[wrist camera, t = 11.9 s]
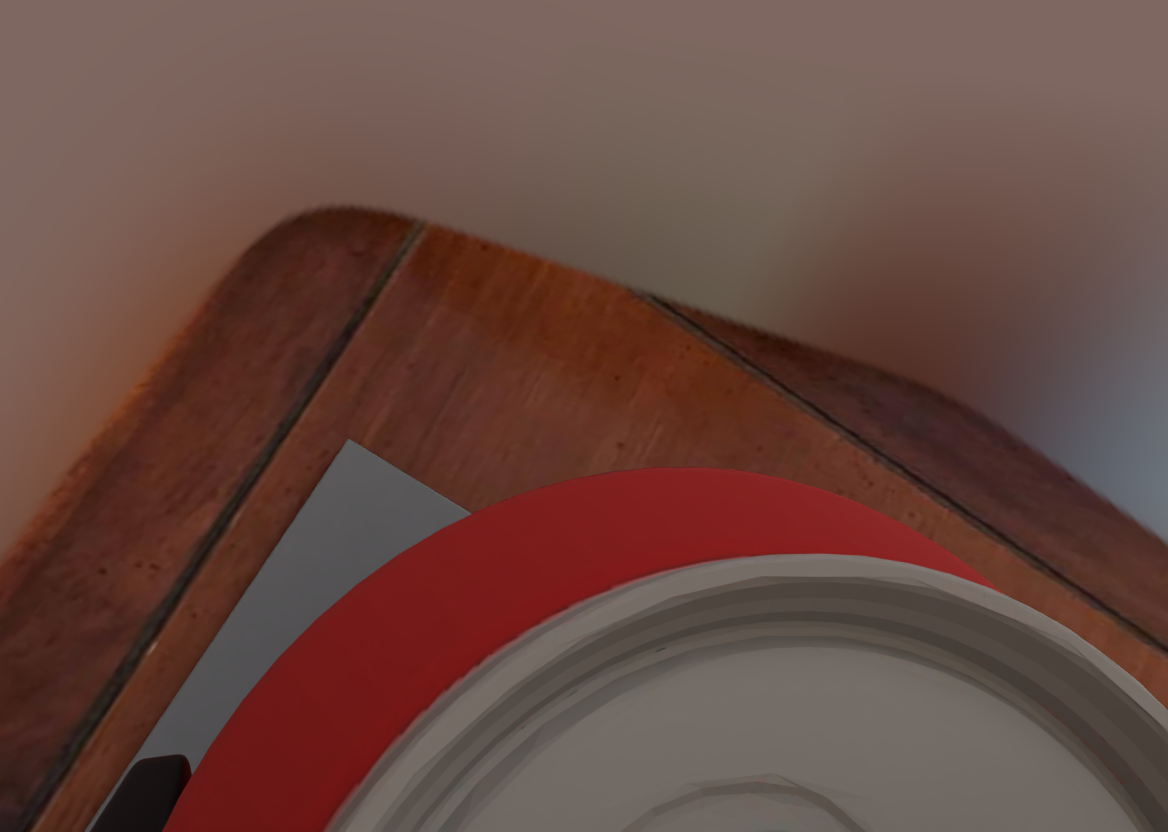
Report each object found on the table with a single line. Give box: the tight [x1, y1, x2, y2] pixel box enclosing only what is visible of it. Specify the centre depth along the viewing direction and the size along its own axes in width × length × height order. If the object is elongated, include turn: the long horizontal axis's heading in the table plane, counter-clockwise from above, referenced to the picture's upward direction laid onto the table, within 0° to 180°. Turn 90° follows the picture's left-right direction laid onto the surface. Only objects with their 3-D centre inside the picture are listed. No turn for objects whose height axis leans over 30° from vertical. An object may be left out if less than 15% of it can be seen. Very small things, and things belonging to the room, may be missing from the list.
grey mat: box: [84, 439, 471, 832], centre depth 20 cm, size 10×8×1 cm
